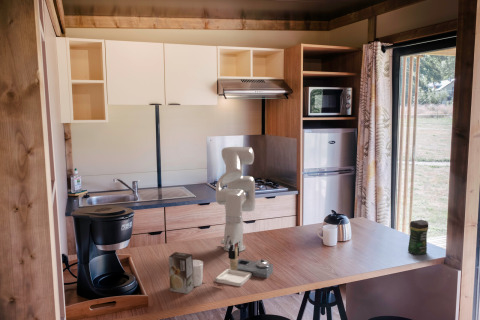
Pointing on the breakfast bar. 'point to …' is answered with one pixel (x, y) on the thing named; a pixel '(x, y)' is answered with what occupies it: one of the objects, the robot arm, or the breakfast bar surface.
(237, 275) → the tray
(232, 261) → the lock pin
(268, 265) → the block
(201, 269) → the white cup
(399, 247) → the breakfast bar surface
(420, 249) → the coffee jar
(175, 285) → the coffee box
